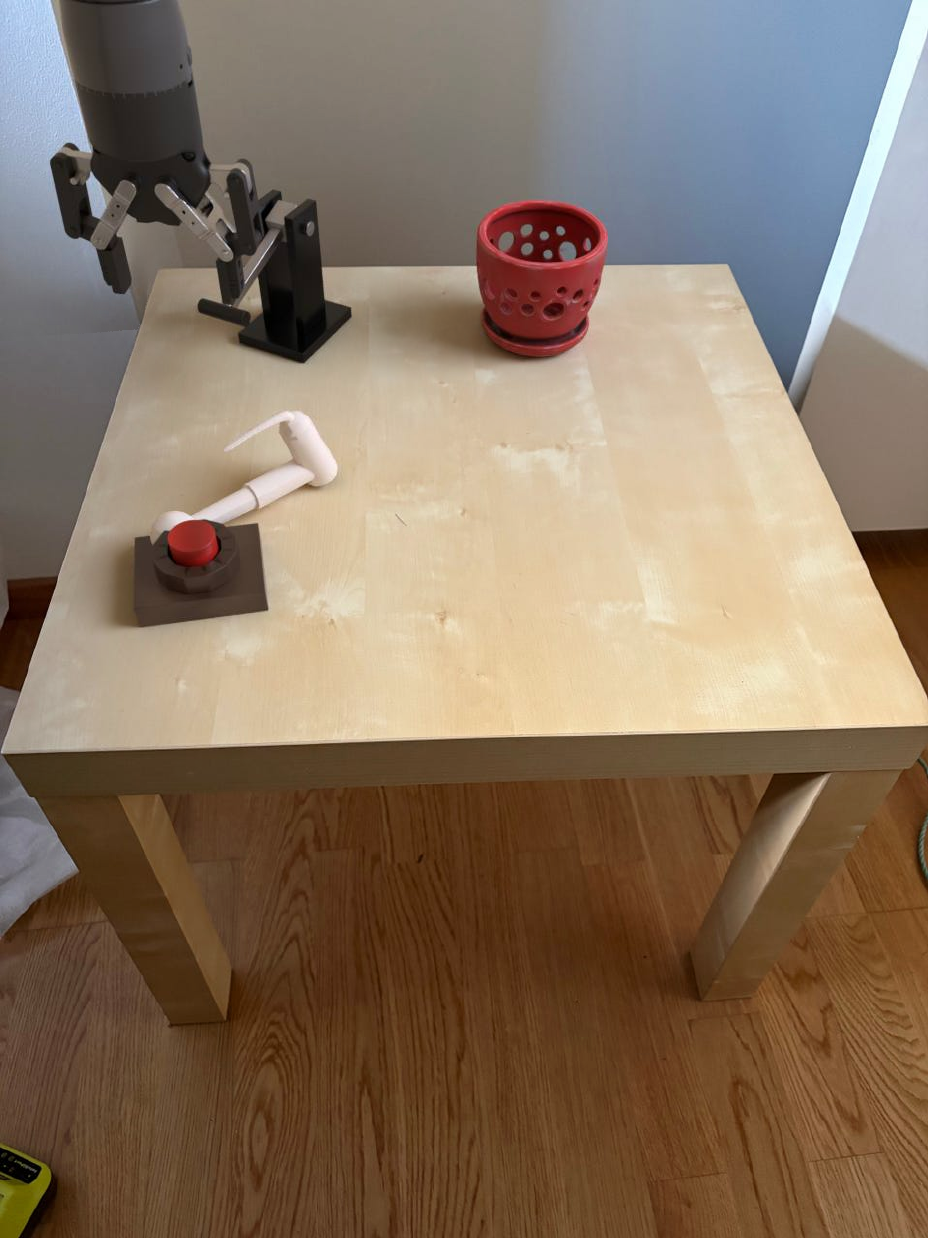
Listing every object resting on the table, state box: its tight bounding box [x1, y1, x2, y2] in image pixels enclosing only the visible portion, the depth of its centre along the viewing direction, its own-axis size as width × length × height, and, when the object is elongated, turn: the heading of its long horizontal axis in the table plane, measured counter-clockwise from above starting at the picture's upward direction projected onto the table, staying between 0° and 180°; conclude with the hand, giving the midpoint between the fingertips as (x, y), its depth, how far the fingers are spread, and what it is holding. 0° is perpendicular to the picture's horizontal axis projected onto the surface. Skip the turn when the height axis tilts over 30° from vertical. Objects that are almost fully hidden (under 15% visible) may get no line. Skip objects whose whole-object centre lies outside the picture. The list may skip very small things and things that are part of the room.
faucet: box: [149, 410, 339, 545], centre depth 81 cm, size 4×18×10 cm, turn 134°
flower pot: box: [475, 199, 609, 357], centre depth 100 cm, size 13×13×12 cm
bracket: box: [237, 188, 353, 364], centre depth 98 cm, size 10×8×14 cm
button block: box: [132, 519, 269, 628], centre depth 77 cm, size 10×8×4 cm
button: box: [168, 520, 218, 567], centre depth 75 cm, size 4×4×2 cm
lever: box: [196, 200, 299, 328], centre depth 93 cm, size 14×5×2 cm, turn 155°
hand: (177, 294), depth 75 cm, fingers open, 8 cm apart
